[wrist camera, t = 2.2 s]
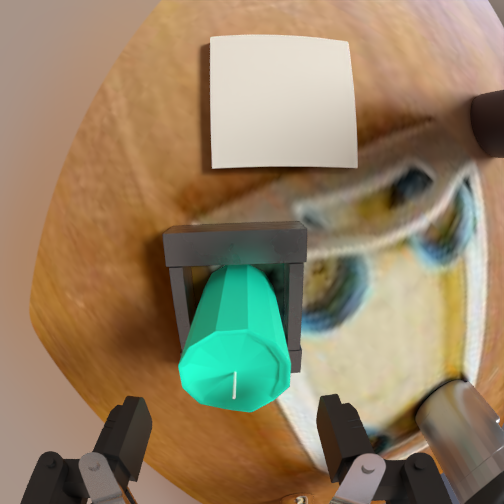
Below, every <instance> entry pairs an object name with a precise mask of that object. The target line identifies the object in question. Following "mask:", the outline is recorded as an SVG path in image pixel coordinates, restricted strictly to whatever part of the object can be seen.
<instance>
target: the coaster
mask: <svg viewBox="0 0 504 504" xmlns="http://www.w3.org/2000/svg"><path fill="white" fill-rule="evenodd" d="M210 110H211V151H212V169H218V168H240V167H338V168H358V157H357V128H356V111H355V98H354V87H353V77H352V68H351V60H350V52H349V45H348V42H346V41H339V40H332V39H324V38H315V37H304V36H289V35H231V36H216V37H210Z"/></svg>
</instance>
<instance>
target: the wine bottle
mask: <svg viewBox="0 0 504 504" xmlns="http://www.w3.org/2000/svg"><path fill="white" fill-rule="evenodd" d="M471 122H472V127H473V131H474V134H475V136H476V139H477V141H478V143H479V144H480V146H481V147H482V149H483V150H484V151H485V152H486V153H488V154H489V155H491V156H494V157H498V158H504V90H500V91H495V92H490V93H485V94H481V95H479V96H478V97H476V98H475V99H474V101H473V103H472V107H471Z"/></svg>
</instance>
